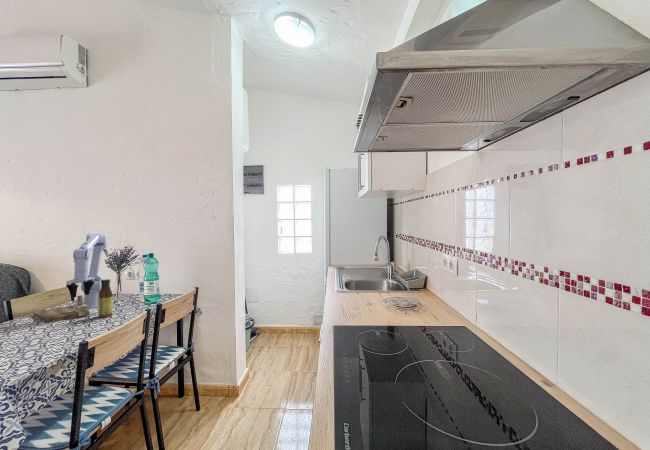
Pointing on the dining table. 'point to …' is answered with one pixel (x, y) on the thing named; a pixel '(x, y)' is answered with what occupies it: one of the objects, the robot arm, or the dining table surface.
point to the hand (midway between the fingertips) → (80, 296)
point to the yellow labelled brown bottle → (105, 299)
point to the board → (56, 314)
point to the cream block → (80, 307)
